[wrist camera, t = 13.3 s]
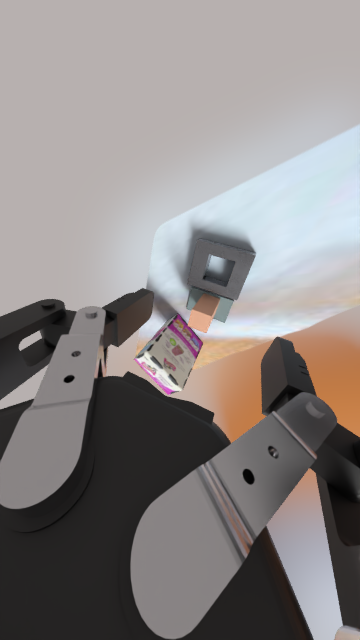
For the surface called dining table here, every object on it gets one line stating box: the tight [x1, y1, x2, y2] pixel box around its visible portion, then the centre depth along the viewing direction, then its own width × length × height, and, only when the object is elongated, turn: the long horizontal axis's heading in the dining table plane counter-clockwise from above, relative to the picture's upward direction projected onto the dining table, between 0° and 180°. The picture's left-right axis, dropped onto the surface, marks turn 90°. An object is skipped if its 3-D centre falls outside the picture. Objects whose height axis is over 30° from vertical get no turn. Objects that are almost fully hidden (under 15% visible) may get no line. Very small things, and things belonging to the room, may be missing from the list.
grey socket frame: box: [188, 239, 256, 300], centre depth 35 cm, size 11×9×3 cm
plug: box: [188, 293, 220, 333], centre depth 37 cm, size 4×4×9 cm
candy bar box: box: [134, 314, 203, 395], centre depth 41 cm, size 11×5×16 cm, turn 43°
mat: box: [187, 287, 234, 323], centre depth 41 cm, size 10×6×1 cm, turn 79°
